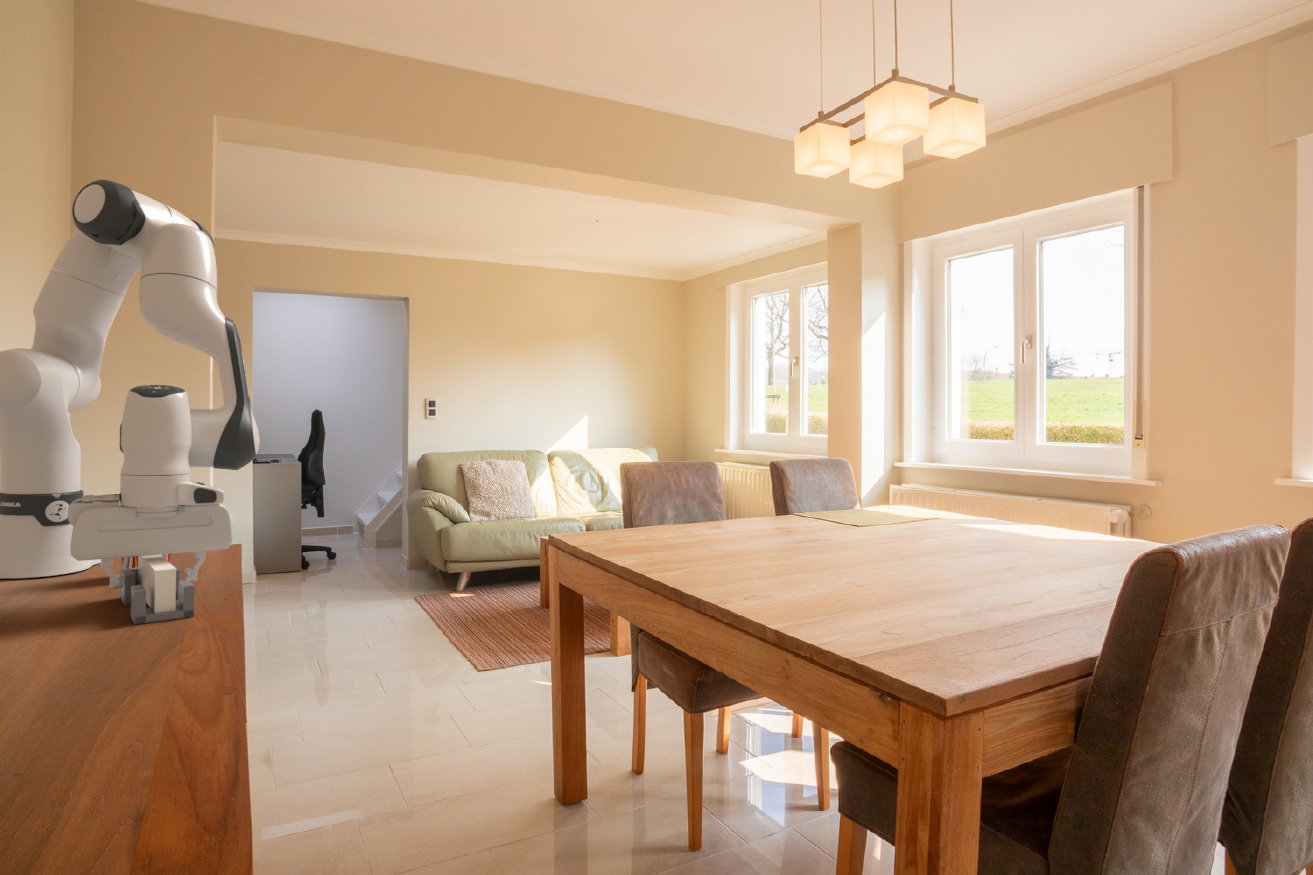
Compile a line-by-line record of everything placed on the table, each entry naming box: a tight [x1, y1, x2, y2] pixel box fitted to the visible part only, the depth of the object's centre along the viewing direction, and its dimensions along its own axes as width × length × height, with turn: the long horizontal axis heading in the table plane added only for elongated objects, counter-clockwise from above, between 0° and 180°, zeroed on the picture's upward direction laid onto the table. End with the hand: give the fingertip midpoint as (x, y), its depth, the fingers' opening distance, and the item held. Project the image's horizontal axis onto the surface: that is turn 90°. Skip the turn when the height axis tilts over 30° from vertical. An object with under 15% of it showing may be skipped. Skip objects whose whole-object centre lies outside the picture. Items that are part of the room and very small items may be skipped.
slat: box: [138, 554, 177, 613], centre depth 111 cm, size 16×2×6 cm, turn 42°
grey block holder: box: [119, 563, 195, 625], centre depth 111 cm, size 18×7×4 cm, turn 41°
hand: (154, 583), depth 112 cm, fingers open, 8 cm apart
